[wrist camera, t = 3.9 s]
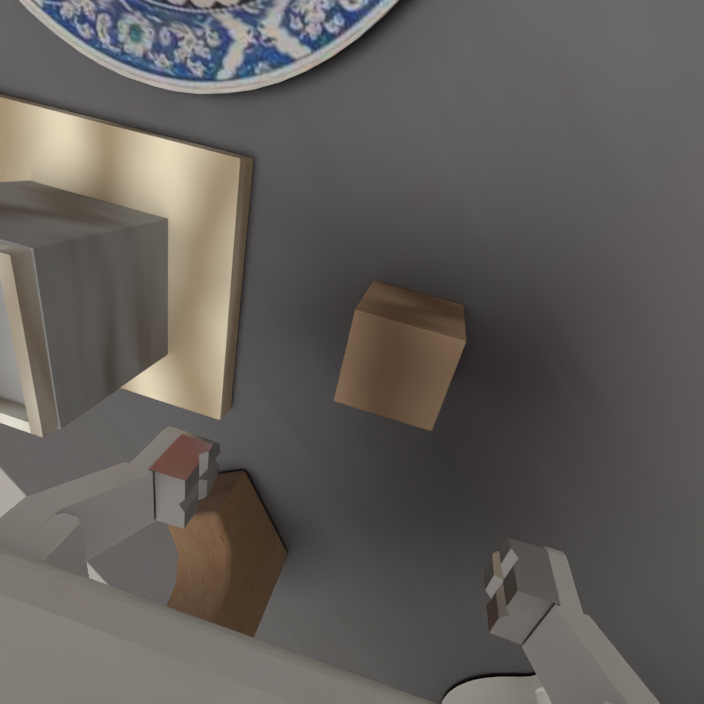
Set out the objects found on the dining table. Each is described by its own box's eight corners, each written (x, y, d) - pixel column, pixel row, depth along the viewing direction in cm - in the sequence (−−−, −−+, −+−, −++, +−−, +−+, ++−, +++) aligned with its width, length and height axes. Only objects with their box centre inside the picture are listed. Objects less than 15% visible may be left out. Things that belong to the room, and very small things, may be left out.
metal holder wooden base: (253, 158, 21) (103, 160, 12) (230, 407, 28) (127, 525, 19) (-18, 89, 23) (-332, 44, 14) (28, 342, 30) (-156, 424, 21)
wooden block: (197, 473, 32) (-52, 785, 16) (246, 467, 31) (24, 802, 15) (244, 556, 35) (73, 885, 19) (290, 553, 34) (146, 907, 18)
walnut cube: (463, 304, 22) (466, 341, 18) (435, 381, 24) (431, 431, 20) (373, 279, 23) (354, 309, 18) (354, 357, 25) (333, 401, 20)
